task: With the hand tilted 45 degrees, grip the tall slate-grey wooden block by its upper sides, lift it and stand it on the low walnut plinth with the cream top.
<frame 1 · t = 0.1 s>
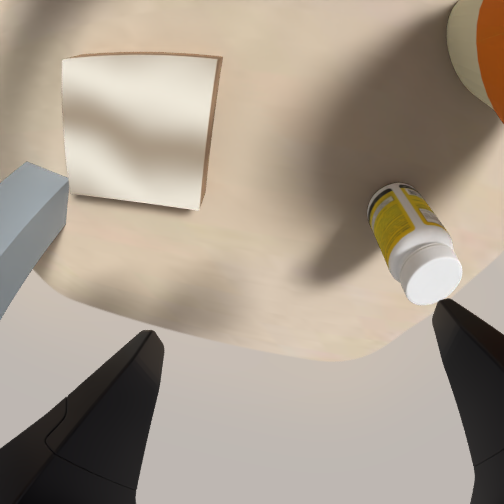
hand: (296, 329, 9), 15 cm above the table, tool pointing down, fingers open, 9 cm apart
supplement bottle: (393, 206, 23), on the table
plinth: (141, 121, 19), on the table
reusable coffee cup: (491, 48, 14), on the table
slate block: (45, 193, 23), on the table
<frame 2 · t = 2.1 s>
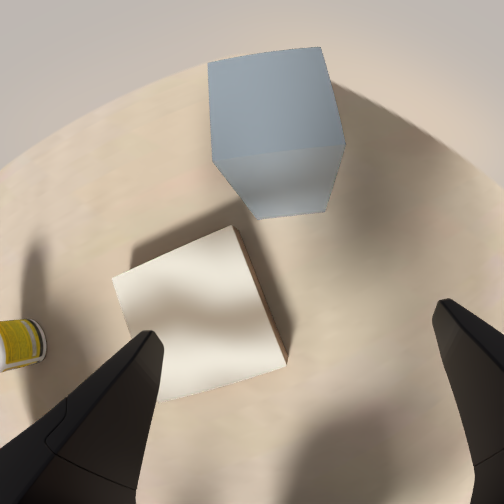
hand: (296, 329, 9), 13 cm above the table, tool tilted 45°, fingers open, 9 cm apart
supplement bottle: (34, 340, 26), on the table
plinth: (201, 317, 23), on the table
slate block: (287, 183, 23), on the table
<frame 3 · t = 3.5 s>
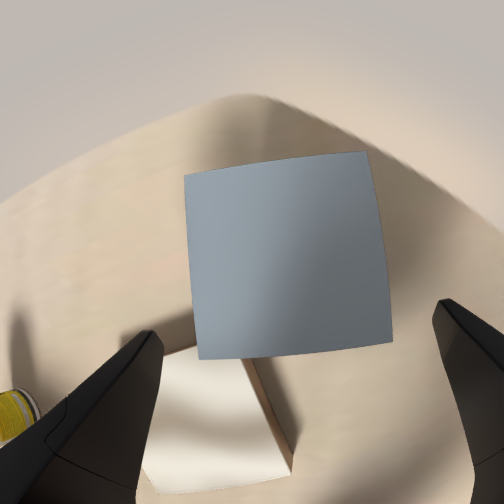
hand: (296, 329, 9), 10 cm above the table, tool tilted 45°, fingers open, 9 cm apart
supplement bottle: (28, 409, 22), on the table
plinth: (200, 416, 19), on the table
slate block: (296, 273, 20), on the table
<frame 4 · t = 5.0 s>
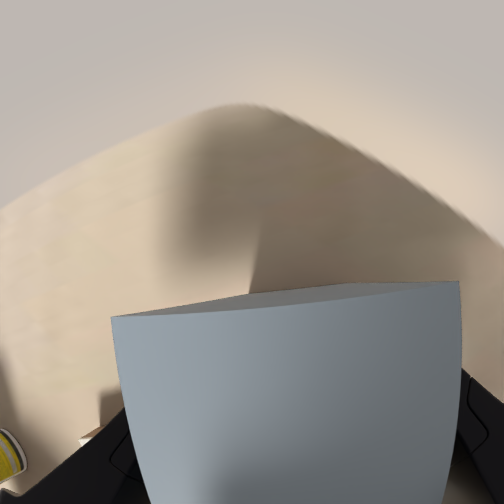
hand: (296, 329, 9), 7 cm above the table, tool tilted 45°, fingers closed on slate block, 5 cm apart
supplement bottle: (14, 449, 18), on the table
slate block: (302, 337, 15), on the table, touching gripper
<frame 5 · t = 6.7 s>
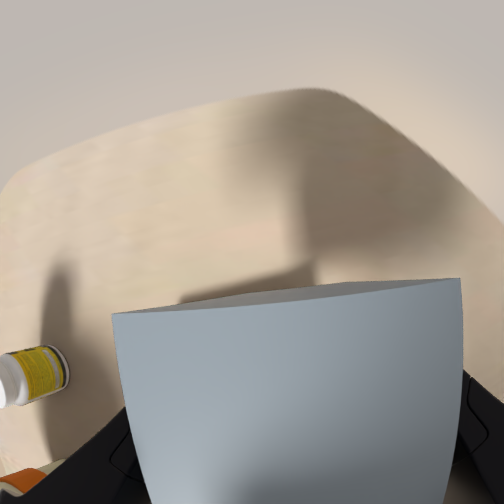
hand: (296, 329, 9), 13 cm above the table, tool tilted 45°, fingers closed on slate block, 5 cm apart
supplement bottle: (55, 366, 25), on the table
reusable coffee cup: (83, 489, 24), on the table
slate block: (302, 336, 15), point 6 cm above the table, touching gripper
when the fingers open (10 cm above the table, at t = 8.2 s): slate block stays where it is, resting on plinth.
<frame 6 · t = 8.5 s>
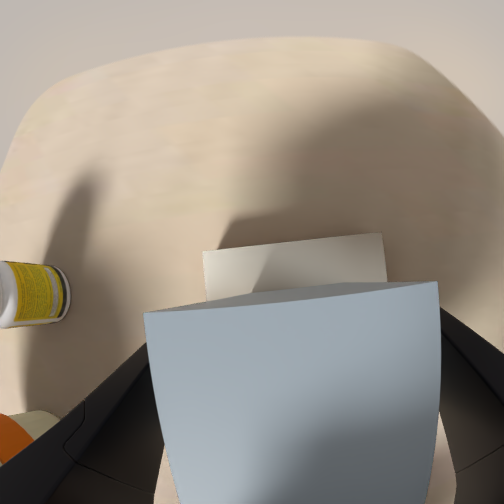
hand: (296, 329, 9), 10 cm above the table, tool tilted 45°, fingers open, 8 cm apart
supplement bottle: (54, 294, 22), on the table
plinth: (300, 327, 19), on the table
reusable coffee cup: (57, 450, 21), on the table
slate block: (302, 334, 16), point 2 cm above the table, touching plinth
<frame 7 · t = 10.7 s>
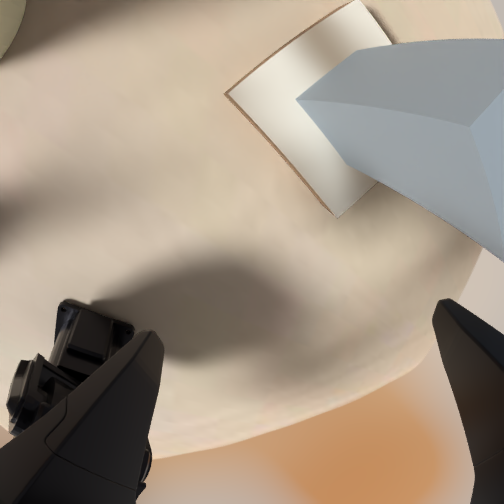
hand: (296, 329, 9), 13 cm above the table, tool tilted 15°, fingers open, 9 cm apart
plinth: (334, 103, 18), on the table
slate block: (352, 106, 16), point 2 cm above the table, touching plinth
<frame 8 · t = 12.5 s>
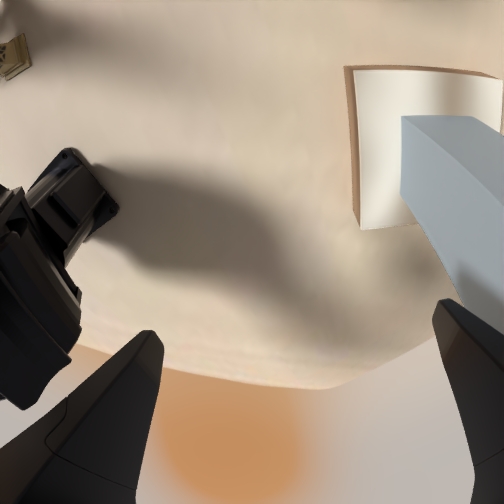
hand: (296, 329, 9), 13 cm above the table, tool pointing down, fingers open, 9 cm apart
plinth: (421, 139, 17), on the table
slate block: (437, 154, 16), point 2 cm above the table, touching plinth
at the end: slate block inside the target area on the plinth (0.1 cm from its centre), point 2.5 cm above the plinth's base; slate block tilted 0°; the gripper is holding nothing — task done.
